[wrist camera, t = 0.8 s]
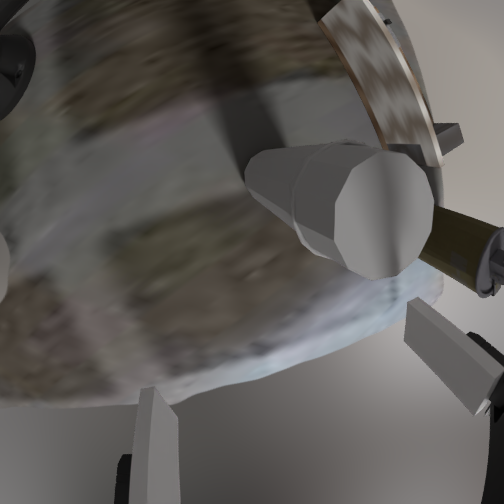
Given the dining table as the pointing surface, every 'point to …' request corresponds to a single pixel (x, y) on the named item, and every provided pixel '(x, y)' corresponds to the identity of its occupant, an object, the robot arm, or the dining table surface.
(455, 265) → the canister
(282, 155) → the water bottle
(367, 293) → the dining table surface
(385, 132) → the brown wooden box
